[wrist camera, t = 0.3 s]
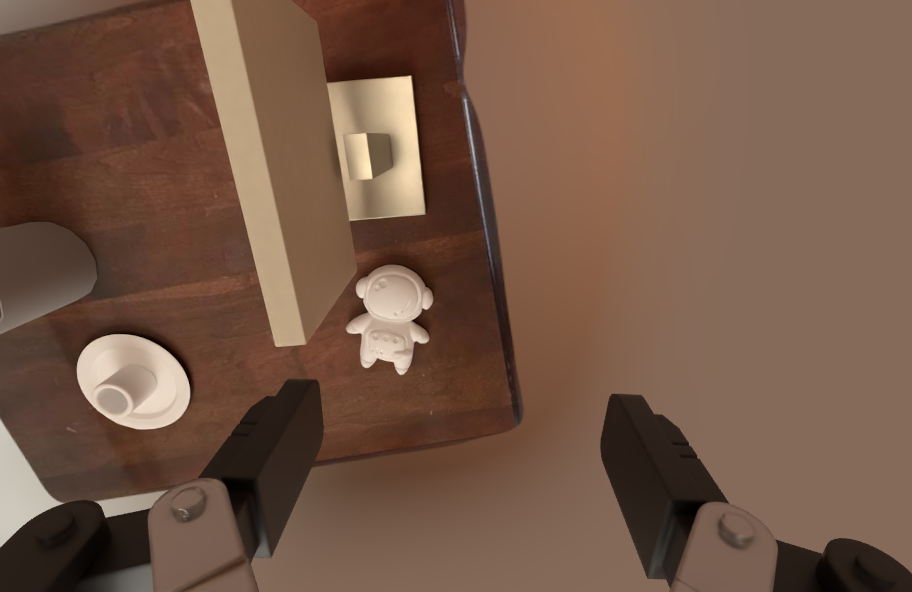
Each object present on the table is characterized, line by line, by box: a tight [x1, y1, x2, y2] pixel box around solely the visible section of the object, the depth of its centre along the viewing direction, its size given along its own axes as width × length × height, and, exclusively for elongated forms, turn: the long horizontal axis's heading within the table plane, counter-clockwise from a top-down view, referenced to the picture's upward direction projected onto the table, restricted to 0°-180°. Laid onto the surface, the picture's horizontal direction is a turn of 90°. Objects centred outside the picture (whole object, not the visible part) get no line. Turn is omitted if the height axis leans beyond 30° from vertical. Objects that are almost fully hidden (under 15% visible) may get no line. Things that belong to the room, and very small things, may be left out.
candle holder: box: [77, 334, 190, 429], centre depth 47 cm, size 12×12×4 cm
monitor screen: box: [190, 0, 357, 347], centre depth 25 cm, size 2×17×13 cm, turn 4°
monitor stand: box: [327, 75, 427, 221], centre depth 35 cm, size 9×12×12 cm
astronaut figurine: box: [346, 265, 433, 375], centre depth 45 cm, size 9×12×3 cm
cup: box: [0, 222, 97, 334], centre depth 39 cm, size 8×8×10 cm
